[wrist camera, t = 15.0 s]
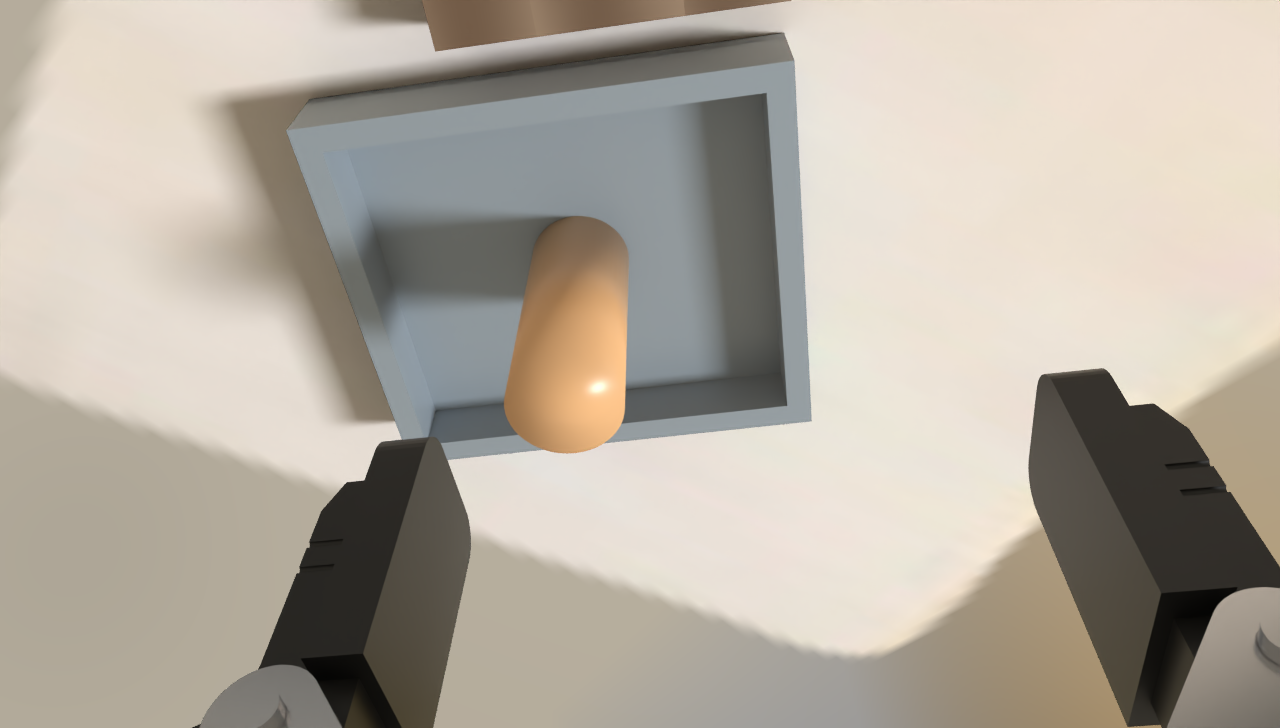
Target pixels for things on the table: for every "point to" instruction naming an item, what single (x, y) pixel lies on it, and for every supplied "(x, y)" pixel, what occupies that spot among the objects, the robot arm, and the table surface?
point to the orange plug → (571, 339)
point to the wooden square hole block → (550, 17)
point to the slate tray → (564, 187)
